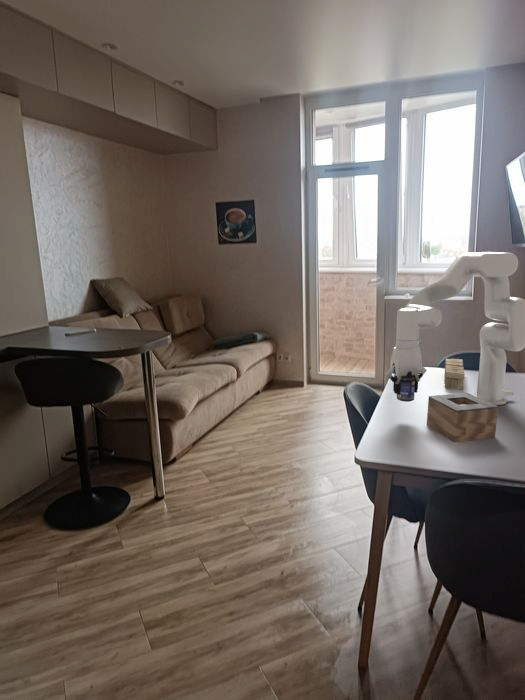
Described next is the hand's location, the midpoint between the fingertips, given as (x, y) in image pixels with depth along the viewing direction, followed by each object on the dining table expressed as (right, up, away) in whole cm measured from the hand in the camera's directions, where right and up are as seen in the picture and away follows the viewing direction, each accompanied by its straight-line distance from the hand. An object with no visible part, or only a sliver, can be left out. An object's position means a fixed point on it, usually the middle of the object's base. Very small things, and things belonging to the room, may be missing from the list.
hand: (405, 392), depth 173 cm
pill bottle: (0, -3, +1) cm, 3 cm away
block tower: (+37, 0, +51) cm, 63 cm away
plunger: (+16, -5, -11) cm, 20 cm away
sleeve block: (+16, -12, -9) cm, 22 cm away
